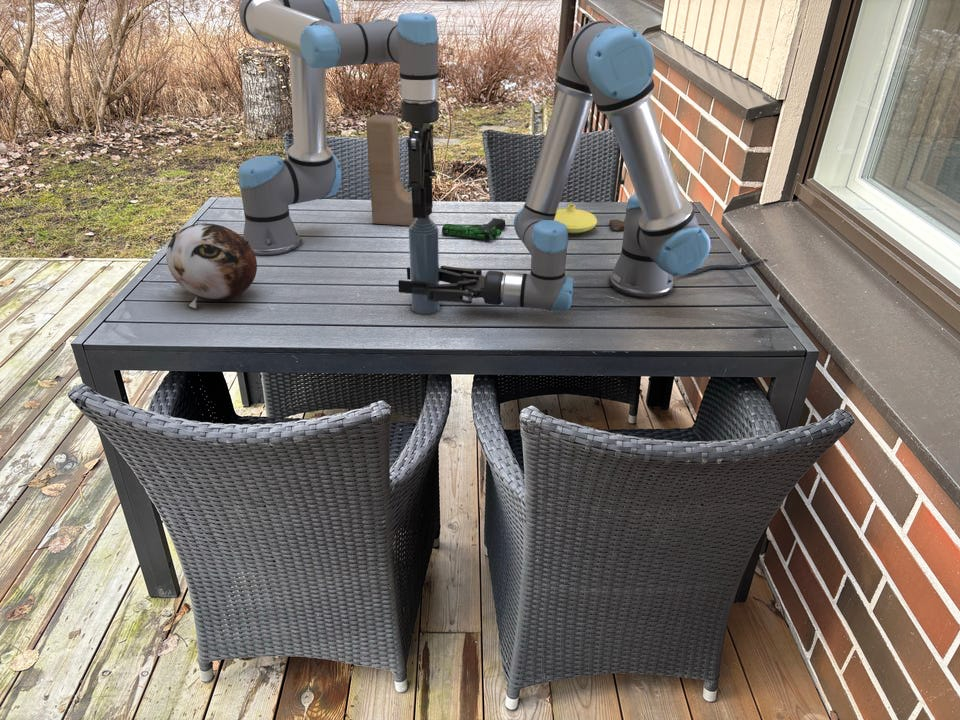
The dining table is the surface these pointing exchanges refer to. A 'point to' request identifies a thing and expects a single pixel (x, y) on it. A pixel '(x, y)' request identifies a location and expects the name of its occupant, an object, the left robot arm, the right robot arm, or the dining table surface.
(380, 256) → the dining table surface
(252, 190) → the left robot arm
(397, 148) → the decorative block
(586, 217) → the yellow lid
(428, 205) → the cap
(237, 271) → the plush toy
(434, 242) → the bottle
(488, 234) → the handgun
